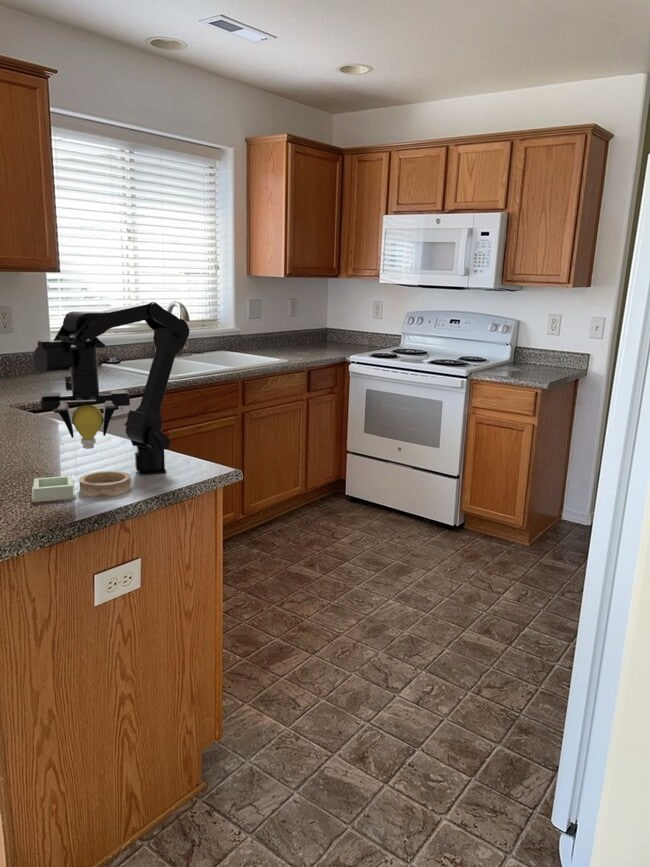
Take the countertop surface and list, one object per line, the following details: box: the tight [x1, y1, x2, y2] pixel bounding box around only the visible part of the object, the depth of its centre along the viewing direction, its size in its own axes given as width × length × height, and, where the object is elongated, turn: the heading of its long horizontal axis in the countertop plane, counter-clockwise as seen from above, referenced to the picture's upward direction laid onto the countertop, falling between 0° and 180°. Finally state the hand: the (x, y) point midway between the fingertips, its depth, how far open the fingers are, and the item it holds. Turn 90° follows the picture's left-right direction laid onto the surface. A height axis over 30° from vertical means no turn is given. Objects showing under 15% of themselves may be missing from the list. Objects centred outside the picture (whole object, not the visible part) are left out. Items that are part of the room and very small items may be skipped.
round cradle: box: [78, 470, 132, 498], centre depth 154 cm, size 11×11×3 cm
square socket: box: [31, 475, 77, 503], centre depth 150 cm, size 9×9×3 cm
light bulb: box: [71, 404, 104, 450], centre depth 153 cm, size 7×7×10 cm
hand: (88, 436), depth 154 cm, fingers closed on light bulb, 6 cm apart
